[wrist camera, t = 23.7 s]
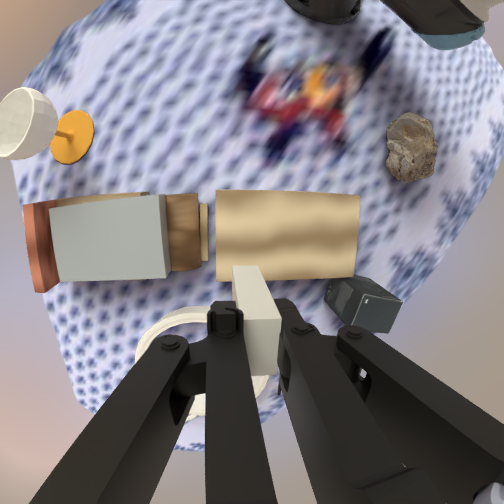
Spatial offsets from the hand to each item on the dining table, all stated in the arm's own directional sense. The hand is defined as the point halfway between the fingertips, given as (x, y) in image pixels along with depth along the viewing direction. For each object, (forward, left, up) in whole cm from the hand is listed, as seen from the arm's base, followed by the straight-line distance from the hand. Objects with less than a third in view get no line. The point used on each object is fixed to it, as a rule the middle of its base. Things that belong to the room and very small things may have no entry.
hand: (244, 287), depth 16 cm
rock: (-13, +28, -25) cm, 40 cm away
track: (+1, -5, -25) cm, 25 cm away
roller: (0, -4, -23) cm, 23 cm away
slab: (0, -16, -20) cm, 26 cm away
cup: (-15, -26, -25) cm, 39 cm away
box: (+11, +20, -25) cm, 34 cm away
